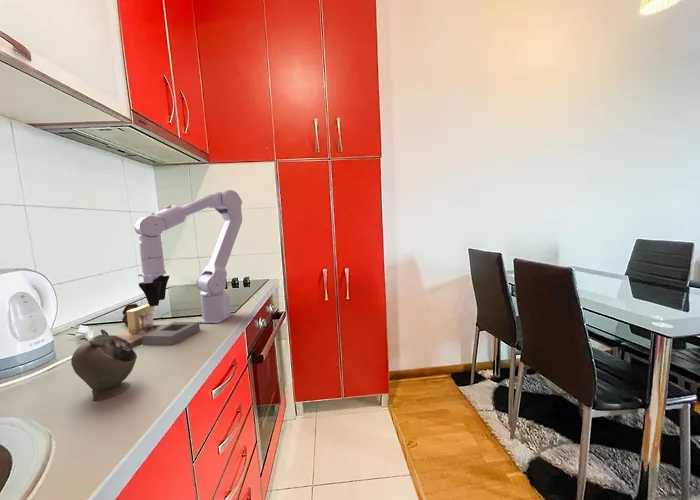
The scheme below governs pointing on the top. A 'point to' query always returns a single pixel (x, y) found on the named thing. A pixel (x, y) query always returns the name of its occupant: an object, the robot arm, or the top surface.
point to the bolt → (127, 308)
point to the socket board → (135, 336)
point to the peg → (146, 322)
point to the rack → (171, 333)
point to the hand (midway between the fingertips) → (157, 302)
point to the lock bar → (137, 317)
